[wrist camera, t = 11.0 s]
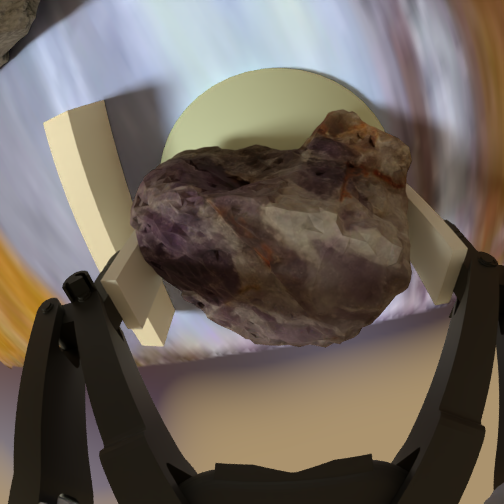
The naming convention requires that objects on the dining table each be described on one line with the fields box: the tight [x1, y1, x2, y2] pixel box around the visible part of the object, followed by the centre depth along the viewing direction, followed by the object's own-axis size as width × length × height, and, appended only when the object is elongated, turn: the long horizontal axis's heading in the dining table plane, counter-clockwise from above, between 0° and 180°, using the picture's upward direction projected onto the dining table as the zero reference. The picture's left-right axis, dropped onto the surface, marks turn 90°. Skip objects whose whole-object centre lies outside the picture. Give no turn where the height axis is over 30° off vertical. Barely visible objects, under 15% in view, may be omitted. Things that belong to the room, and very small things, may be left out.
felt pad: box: [161, 68, 385, 163], centre depth 17 cm, size 15×15×1 cm
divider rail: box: [43, 100, 175, 346], centre depth 18 cm, size 2×18×4 cm, turn 8°
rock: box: [130, 109, 412, 347], centre depth 13 cm, size 12×9×10 cm
